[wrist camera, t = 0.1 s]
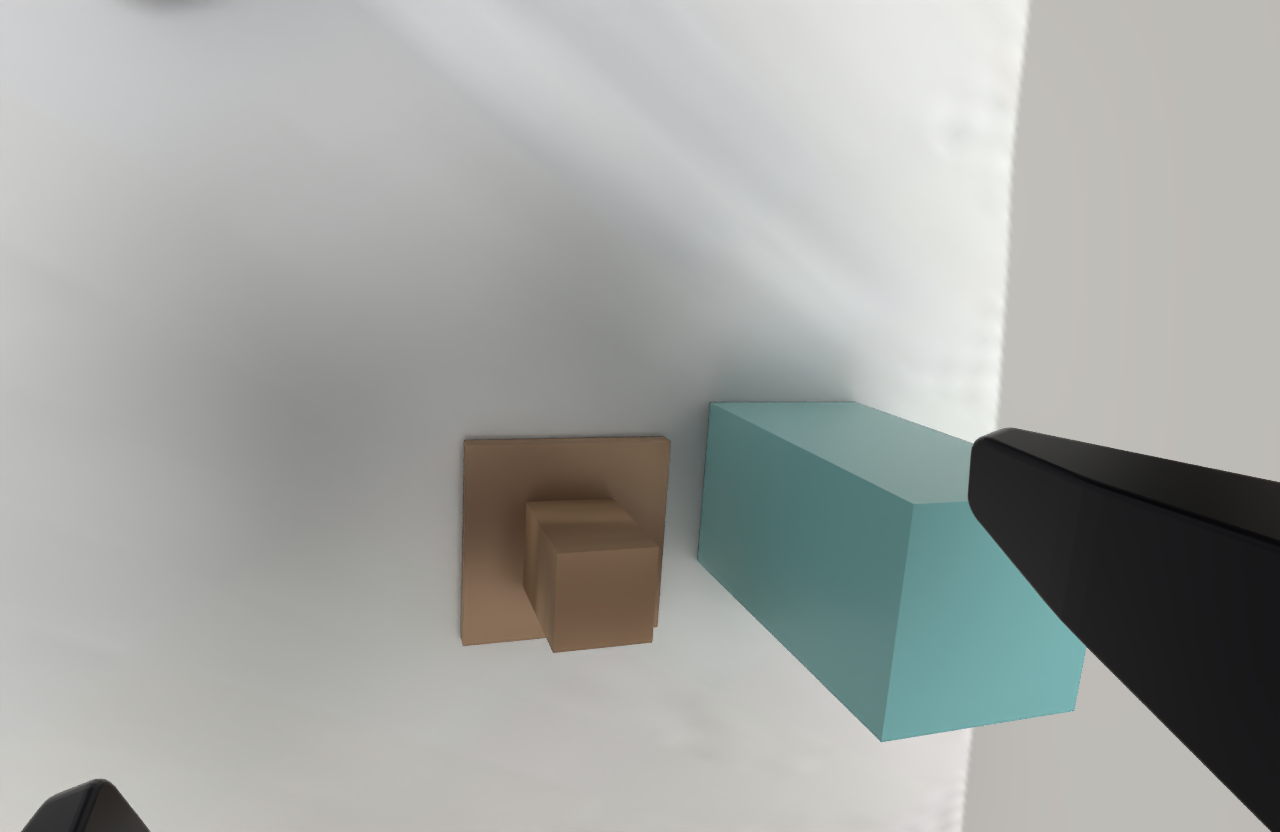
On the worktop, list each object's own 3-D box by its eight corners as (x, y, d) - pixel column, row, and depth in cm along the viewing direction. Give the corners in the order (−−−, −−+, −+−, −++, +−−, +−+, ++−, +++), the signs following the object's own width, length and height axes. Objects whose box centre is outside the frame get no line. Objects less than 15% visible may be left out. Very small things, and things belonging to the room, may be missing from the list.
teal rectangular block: (837, 550, 28) (1073, 710, 19) (697, 560, 26) (881, 741, 17) (855, 401, 27) (1115, 493, 18) (710, 402, 25) (914, 504, 16)
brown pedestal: (650, 618, 26) (707, 694, 22) (460, 636, 24) (482, 723, 20) (663, 436, 25) (726, 479, 21) (464, 440, 23) (487, 488, 19)
